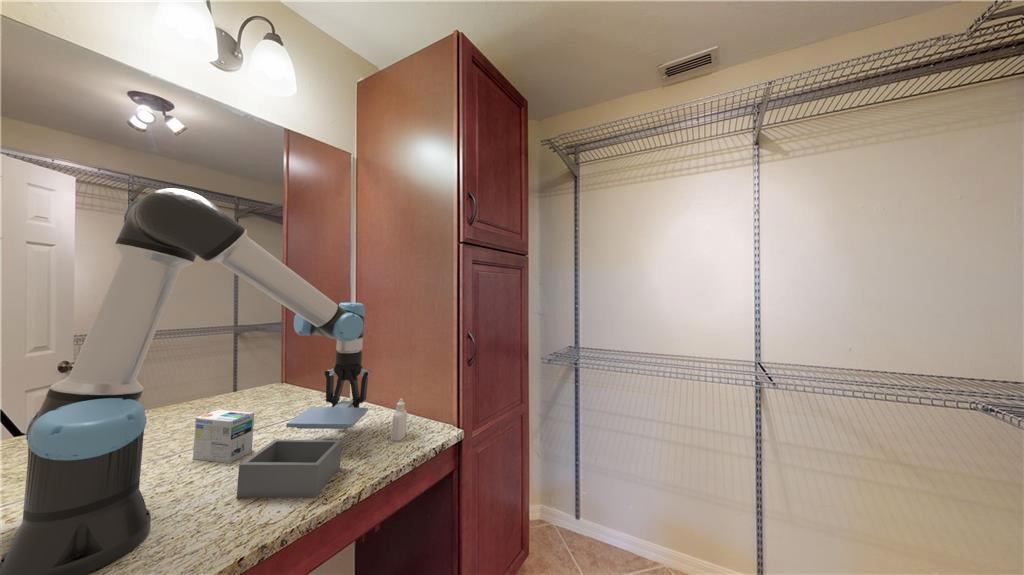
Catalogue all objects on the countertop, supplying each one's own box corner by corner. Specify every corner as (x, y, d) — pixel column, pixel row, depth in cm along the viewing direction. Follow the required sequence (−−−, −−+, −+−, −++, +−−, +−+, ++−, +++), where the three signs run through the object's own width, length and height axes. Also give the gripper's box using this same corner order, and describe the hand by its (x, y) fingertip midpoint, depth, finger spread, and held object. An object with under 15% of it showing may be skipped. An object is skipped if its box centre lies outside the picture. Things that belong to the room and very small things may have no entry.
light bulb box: (253, 451, 88) (256, 411, 88) (229, 464, 81) (232, 421, 81) (217, 447, 89) (220, 408, 89) (190, 460, 82) (194, 417, 82)
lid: (285, 432, 86) (286, 423, 86) (320, 408, 104) (321, 400, 104) (351, 433, 87) (351, 424, 87) (374, 408, 106) (374, 401, 106)
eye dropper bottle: (386, 438, 100) (388, 399, 100) (401, 432, 104) (404, 395, 105) (395, 442, 97) (397, 402, 98) (410, 436, 102) (412, 398, 102)
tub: (236, 498, 69) (239, 464, 69) (272, 467, 80) (275, 439, 81) (315, 497, 70) (318, 464, 70) (340, 468, 82) (341, 440, 82)
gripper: (380, 349, 108) (376, 420, 108) (327, 347, 107) (322, 419, 106) (372, 353, 101) (368, 429, 100) (315, 351, 99) (310, 428, 99)
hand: (344, 424), depth 103 cm, fingers closed on lid, 4 cm apart
